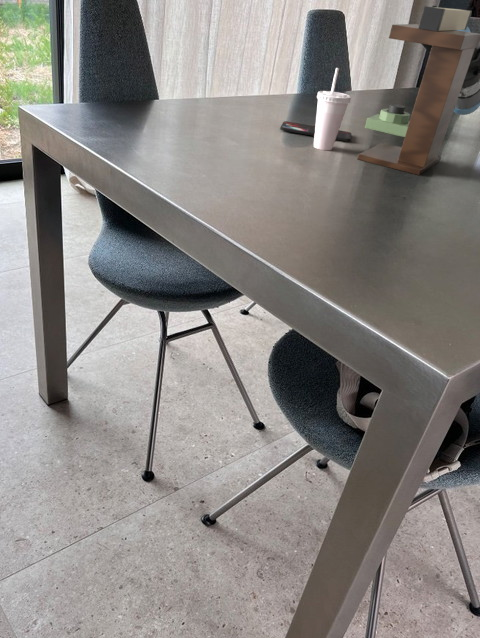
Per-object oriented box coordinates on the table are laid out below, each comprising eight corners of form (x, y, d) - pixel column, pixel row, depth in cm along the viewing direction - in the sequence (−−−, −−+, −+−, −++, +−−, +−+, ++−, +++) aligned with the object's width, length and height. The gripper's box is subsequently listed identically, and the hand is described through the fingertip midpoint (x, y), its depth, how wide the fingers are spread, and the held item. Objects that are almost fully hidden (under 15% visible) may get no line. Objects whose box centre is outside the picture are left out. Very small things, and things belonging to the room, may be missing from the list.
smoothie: (315, 141, 116) (331, 64, 107) (344, 149, 113) (363, 70, 105) (301, 146, 111) (317, 66, 103) (330, 154, 108) (349, 72, 100)
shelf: (438, 161, 113) (482, 34, 100) (419, 175, 103) (464, 35, 90) (380, 147, 117) (415, 24, 104) (357, 159, 107) (392, 24, 95)
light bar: (466, 30, 107) (472, 10, 105) (436, 31, 91) (443, 8, 90) (449, 27, 108) (455, 8, 107) (418, 28, 93) (424, 6, 91)
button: (405, 114, 131) (407, 106, 130) (400, 116, 128) (402, 108, 127) (390, 111, 132) (392, 103, 131) (385, 113, 130) (387, 104, 129)
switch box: (416, 132, 133) (421, 114, 131) (406, 137, 128) (412, 118, 125) (375, 123, 137) (380, 105, 135) (364, 128, 132) (369, 109, 129)
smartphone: (351, 139, 117) (279, 127, 119) (350, 142, 118) (279, 130, 119) (351, 132, 123) (283, 120, 125) (350, 135, 123) (283, 123, 125)
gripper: (516, 99, 125) (525, 47, 106) (406, 78, 135) (396, 27, 116) (531, 65, 124) (543, 6, 105) (419, 46, 134) (412, -11, 115)
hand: (466, 17), depth 110 cm, fingers open, 13 cm apart
